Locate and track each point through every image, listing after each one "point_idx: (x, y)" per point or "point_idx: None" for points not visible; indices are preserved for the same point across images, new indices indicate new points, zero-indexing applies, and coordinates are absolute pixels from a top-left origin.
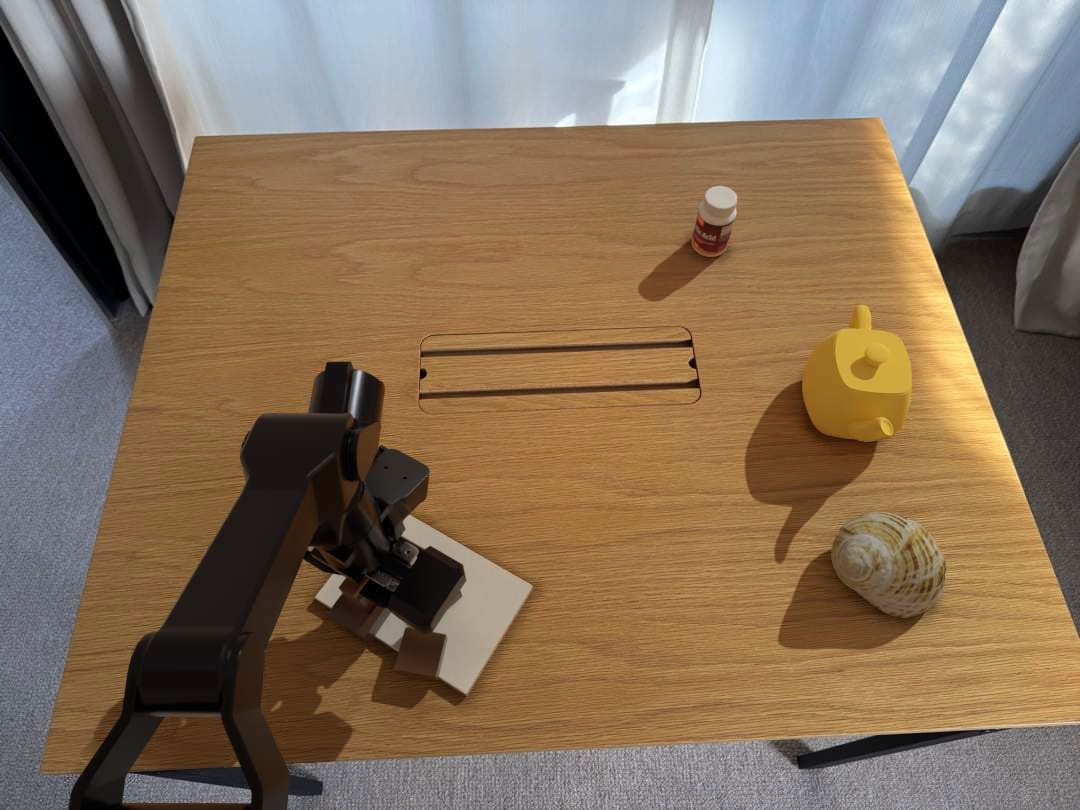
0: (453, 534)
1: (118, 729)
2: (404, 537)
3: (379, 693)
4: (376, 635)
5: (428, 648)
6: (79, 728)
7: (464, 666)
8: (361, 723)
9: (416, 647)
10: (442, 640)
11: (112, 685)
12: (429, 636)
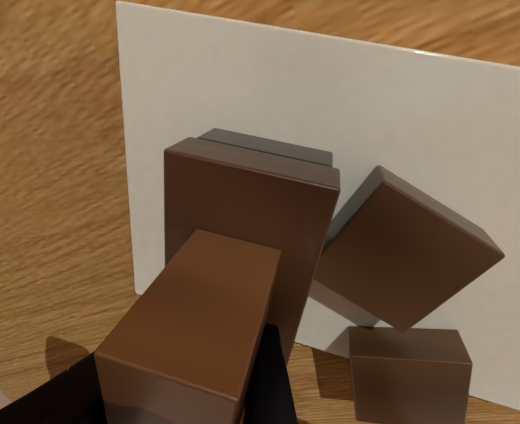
0: (384, 12)
1: None
2: (233, 164)
3: (330, 389)
4: None
5: (427, 389)
6: None
7: (517, 374)
8: (319, 419)
9: (395, 390)
10: (465, 377)
11: (27, 389)
12: (423, 371)
